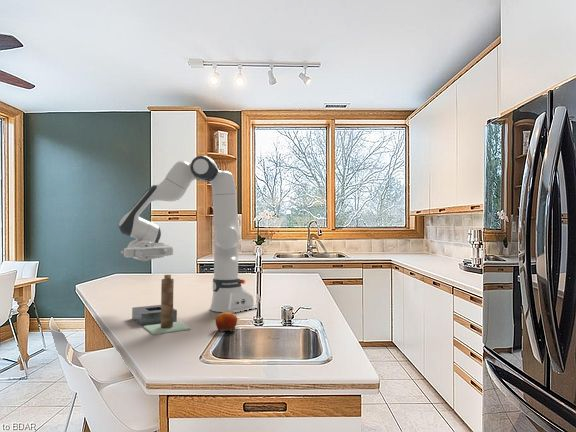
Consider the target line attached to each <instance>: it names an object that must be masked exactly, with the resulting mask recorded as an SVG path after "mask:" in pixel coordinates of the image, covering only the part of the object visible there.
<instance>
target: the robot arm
mask: <svg viewBox="0 0 576 432" xmlns="http://www.w3.org/2000/svg"><path fill="white" fill-rule="evenodd" d="M195 180H196V181H200V182H206V183H209V184H210V186H211V192H212V193H211V197H212V212H213V213H212V214H213V232H214V233H213V234H214V236H213V237H214V241H213V242H214V246H213V249H214V251H213V252H214V255H213V258H214V259H213V278H212V299H211V303H210V307H209V310H210V311H212V312H217V313H223V312H230V313H233V314H236V313H240V311H241V312H245V311H244V310H247V311H250V310H249V309H252V310H256V309H255V308H256V304H257V303H255V301H254V297H253V294H252V293H251V292H250V291H249V290H247V289H246V288H245V287H243V285H245V284H246V282H247V281H246V280H245V279H243V278H242V279H241V278H239V241H240V229H239V216H238V200H237V188H236V182H235V177H234V175H233V174H232V172H230V171H228V170H220V168H219V165H218V164H217V163H216V161H215V160H214V159H212V158H211V157H209V156H207V155H198V156H196V157H194V158H192V161H191V163H190V162H188V161H185V160H179V161H176V163H175V164H174V165H173V166H172V167H171V168H170V170H169V171H168V173H167V174H166V176H165V177H164V179H163V180H162V181H161V182H160V183H158V184H153V185H152V186H150V187H149V188H148V189H147V190H146V191H145V192H144V193H143V194H142V195H141V197H140V198H139V199H138V200H137V202H135V203H134V205H133V206H132V207H131V208H130V210H128V212H126V213H125V215H123V217H122V218H121V219H120V221H119V224H118V229H119V231H120V232H121V234H122V235H125V236H128V237H131V238H133V240H131V241H130V242H129V243H128V244H127V247H125V248H123V250H121V251H120V254H123V257H124V258H133V259H134V260H138V261H140V262H141V261H142V262H147V261H151V260H153V259H161V258H164V257H165V256H166V257H168V256H173V255H174V247H173V246H172V245H169V244H165V242H159V241H160V240H161V236H162V232H161V228H160V226H159V225H158V224H156V223H154V222H152V221H150V220H147V219H144V218H143V217H141V216H140V215H141V214H142V212H143V211H144V210H145V209H146V208H147V206H148V205H150V203H152V202H156V201H157V202H158V201H159V202H160V201H163V202H176V201H179V200H181V199H182V197H183V196H184V195H185V194H186V192H187V190H188V188H189V187H190V185H191V183H193V181H195ZM235 312H236V313H235Z"/></svg>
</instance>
